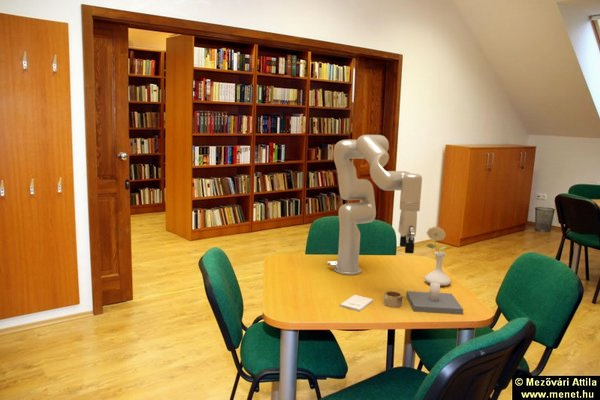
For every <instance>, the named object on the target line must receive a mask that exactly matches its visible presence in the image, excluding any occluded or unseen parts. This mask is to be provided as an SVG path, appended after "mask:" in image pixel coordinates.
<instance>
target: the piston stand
mask: <svg viewBox="0 0 600 400" xmlns="http://www.w3.org/2000/svg"><path fill="white" fill-rule="evenodd" d="M429 284H430V285H429V292H428V291H414V290H406V291H405V292H406V294H405V295H406V298H407V300H408V303H409V304H410V306H411V308H412V310H413V312H417V313H419V312H420V313H437V314H451V315H452V314H454V315H463V314H464V308H463V307H462V305H461V304H460V303H459V301H458V300H457V299H456V297H455V296H454V294H453V293H448V292H447V293H446V292H440V290H441V286H440V283H437V282H431V283H429Z"/></svg>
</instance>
